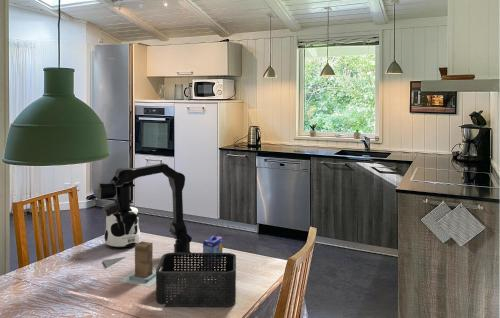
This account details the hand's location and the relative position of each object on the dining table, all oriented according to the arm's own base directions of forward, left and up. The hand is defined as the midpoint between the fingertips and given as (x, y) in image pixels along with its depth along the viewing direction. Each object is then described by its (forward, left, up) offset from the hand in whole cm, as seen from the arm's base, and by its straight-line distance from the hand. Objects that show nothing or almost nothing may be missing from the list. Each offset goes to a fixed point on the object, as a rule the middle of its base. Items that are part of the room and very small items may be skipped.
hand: (123, 231), depth 180 cm
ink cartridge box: (-33, +21, -15) cm, 42 cm away
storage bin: (-14, +44, -15) cm, 49 cm away
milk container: (-7, -26, -15) cm, 31 cm away
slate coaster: (+3, -2, -15) cm, 15 cm away
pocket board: (-2, +20, -15) cm, 25 cm away
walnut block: (-2, +20, -14) cm, 25 cm away
